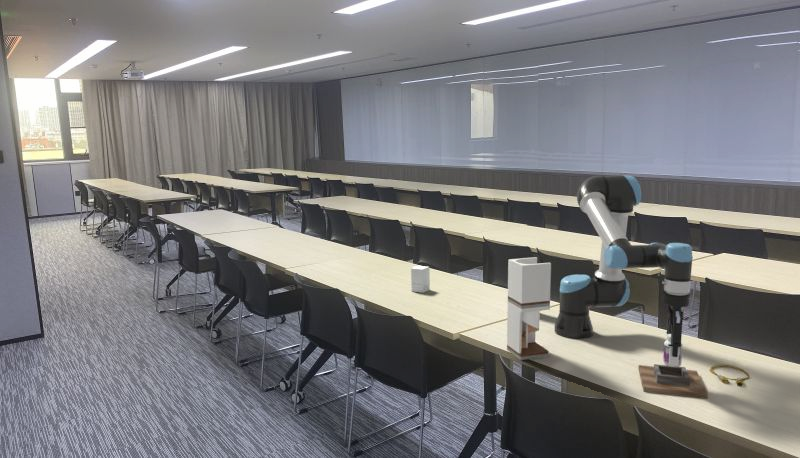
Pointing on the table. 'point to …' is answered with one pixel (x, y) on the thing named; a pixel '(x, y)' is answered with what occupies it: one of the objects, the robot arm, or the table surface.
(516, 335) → the white notched tower
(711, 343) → the table surface
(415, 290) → the supplement box
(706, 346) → the table surface
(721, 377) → the gold torc necklace
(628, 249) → the robot arm
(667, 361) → the pill bottle
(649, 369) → the socket block
